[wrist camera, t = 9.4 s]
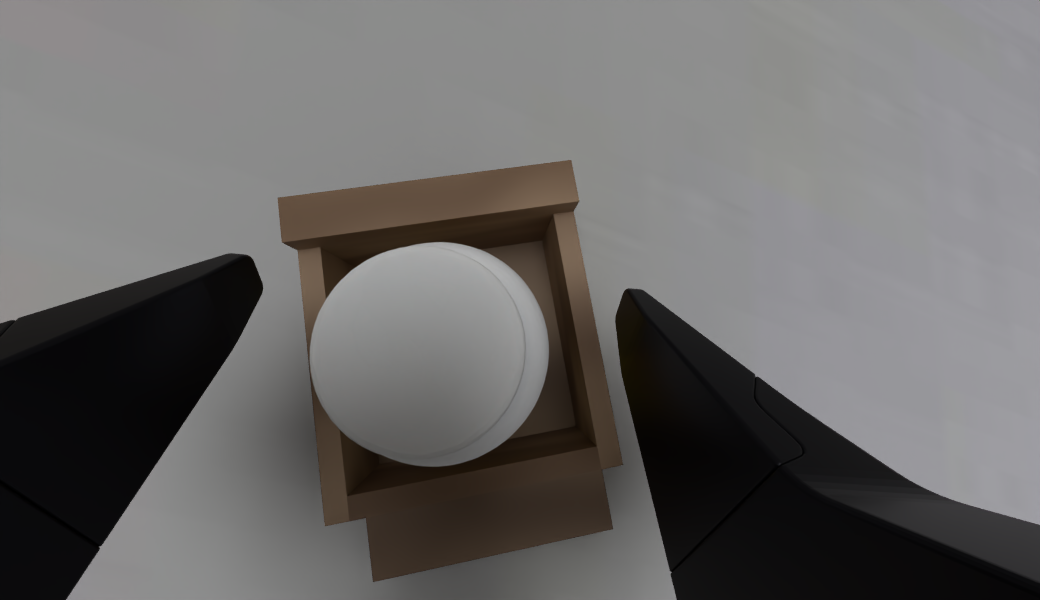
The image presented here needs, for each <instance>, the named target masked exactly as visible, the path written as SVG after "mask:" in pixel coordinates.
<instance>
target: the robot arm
mask: <svg viewBox="0 0 1040 600" xmlns="http://www.w3.org/2000/svg"><path fill="white" fill-rule="evenodd" d="M262 291H263V284H262V281H261V278H260V276H259V273H258V271H257V268H256V266H255V263H254V261H253V259H252V258H251V257H250V256H248V255H244V254H233V253H230V254H225V255H222V256H219V257H215V258H212V259H209V260H206V261H202V262H199V263H196V264H193V265H189V266H186V267H183V268H180V269H176V270H173V271H170V272H167V273H163V274H160V275H157V276H154V277H150V278H147V279H144V280H141V281H137V282H134V283H131V284H128V285H124V286H121V287H118V288H114V289H111V290H108V291H105V292H101V293H98V294H95V295H92V296H88V297H85V298H82V299H79V300H75V301H72V302H69V303H66V304H62V305H59V306H56V307H53V308H49V309H46V310H43V311H40V312H36V313H33V314H30V315H27V316H23V317H20V318H18V319H17V320H16V321H15V320H10V321H7V322H4V323H0V600H66V599H67V597H68V596H69V594H70V593H71V591H72V590H73V588H74V587H75V585H76V584H77V582H78V581H79V579H80V578H81V576H82V575H83V573H84V572H85V570H86V569H87V567H88V566H89V564H90V563H91V561H92V560H93V558H94V557H95V555H96V554H97V552H98V551H99V549H100V547H99V546H101V545H102V544H103V543H104V541H105V540H106V538H107V537H108V535H109V534H110V532H111V531H112V529H113V528H114V526H115V525H116V523H117V522H118V520H119V519H120V517H121V516H122V514H123V513H124V511H125V510H126V508H127V507H128V505H129V504H130V502H131V501H132V500H133V498H134V497H135V495H136V494H137V492H138V491H139V489H140V488H141V486H142V485H143V483H144V482H145V480H146V479H147V477H148V476H149V474H150V473H151V471H152V470H153V468H154V467H155V465H156V464H157V462H158V461H159V459H160V458H161V456H162V455H163V453H164V452H165V450H166V449H167V447H168V446H169V444H170V443H171V441H172V440H173V438H174V437H175V435H176V434H177V432H178V431H179V429H180V428H181V426H182V425H183V423H184V422H185V420H186V419H187V417H188V416H189V414H190V413H191V411H192V410H193V408H194V407H195V405H196V404H197V402H198V401H199V399H200V398H201V396H202V395H203V393H204V392H205V390H206V389H207V387H208V386H209V384H210V383H211V381H212V380H213V378H214V377H215V375H216V374H217V372H218V371H219V369H220V368H221V366H222V365H223V363H224V362H225V360H226V359H227V357H228V356H229V354H230V353H231V351H232V350H233V348H234V346H235V345H236V343H237V341H238V339H239V337H240V336H241V334H242V332H243V330H244V328H245V326H246V324H247V322H248V320H249V318H250V316H251V314H252V312H253V310H254V308H255V306H256V304H257V302H258V301H259V299H260V297H261V295H262ZM615 322H616V331H617V340H618V349H619V357H620V366H621V373H622V378H623V382H624V386H625V390H626V394H627V399H628V403H629V407H630V411H631V415H632V419H633V423H634V427H635V431H636V435H637V439H638V443H639V447H640V451H641V455H642V459H643V463H644V467H645V472H646V476H647V480H648V484H649V488H650V492H651V496H652V500H653V504H654V508H655V512H656V516H657V520H658V524H659V528H660V532H661V536H662V540H663V544H664V549H665V553H666V557H667V561H668V565H669V569H670V571H671V572H672V573H671V578H672V582H673V586H674V590H675V594H676V598H677V600H1040V525H1038V524H1034V523H1031V522H1027V521H1023V520H1020V519H1016V518H1013V517H1009V516H1006V515H1002V514H998V513H995V512H991V511H988V510H984V509H980V508H977V507H973V506H970V505H966V504H963V503H960V502H957V501H954V500H951V499H948V498H946V497H943V496H940V495H938V494H936V493H934V492H932V491H929V490H927V489H925V488H923V487H921V486H919V485H917V484H915V483H913V482H912V481H910V480H908V479H907V478H905V477H903V476H902V475H900V474H899V473H897V472H895V471H894V470H892V469H891V468H889V467H888V466H886V465H885V464H883V463H882V462H880V461H879V460H877V459H876V458H874V457H873V456H871V455H870V454H868V453H867V452H865V451H864V450H862V449H861V448H859V447H858V446H856V445H855V444H853V443H852V442H850V441H849V440H847V439H846V438H844V437H843V436H841V435H840V434H838V433H837V432H835V431H834V430H832V429H831V428H829V427H828V426H826V425H825V424H823V423H822V422H821V421H819V420H818V419H816V418H815V417H813V416H812V415H810V414H809V413H807V412H806V411H804V410H803V409H802V408H800V407H799V406H797V405H796V404H794V403H793V402H792V401H790V400H789V399H787V398H786V397H785V396H783V395H782V394H781V393H779V392H778V391H777V390H775V389H774V388H772V387H771V386H770V385H768V384H767V383H766V382H765V381H763V380H762V379H761V378H759V377H755V374H754V373H753V372H751V371H750V370H749V369H747V368H746V367H745V366H743V365H742V364H741V363H739V362H738V361H737V360H735V359H734V358H733V357H731V356H730V355H729V354H727V353H726V352H725V351H723V350H722V349H721V348H719V347H718V346H717V345H715V344H714V343H713V342H711V341H710V340H709V339H707V338H706V337H705V336H703V335H702V334H701V333H699V332H698V331H697V330H695V329H694V328H693V327H691V326H690V325H689V324H687V323H686V322H685V321H683V320H682V319H681V318H679V317H678V316H677V315H675V314H674V313H673V312H672V311H670V310H669V309H668V308H666V307H665V306H664V305H662V304H661V303H660V302H658V301H657V300H656V299H654V298H653V297H652V296H650V295H649V294H648V293H646V292H645V291H644V290H641V289H629V288H628V289H626V290H625V291H624V293H623V296H622V299H621V301H620V304H619V307H618V310H617V314H616V321H615Z"/></svg>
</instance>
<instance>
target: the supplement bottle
mask: <svg viewBox="0 0 1040 600" xmlns="http://www.w3.org/2000/svg"><path fill="white" fill-rule="evenodd" d="M548 359H549V341H548V334H547V328H546V324H545V320H544V317H543V314H542V312H541V309H540V307H539V305H538V302H537V300H536V298H535V297H534V295H533V293H532V292H531V290H530V289H529V287H528V286H527V285H526V283H525V282H524V281H523V279H522V278H521V277H520V276H519V275H518V274H517V273H516V272H515V271H514V270H512V269H511V268H510V267H509V266H508V265H506V264H505V263H504V262H502V261H501V260H499V259H498V258H496V257H494V256H492V255H491V254H489V253H487V252H485V251H482V250H480V249H476V248H473V247H470V246H467V245H462V244H457V243H448V242H433V243H423V244H416V245H411V246H408V247H402V248H397V249H394V250H390V251H387V252H384V253H381V254H378V255H376V256H374V257H372V258H370V259H368V260H366V261H364V262H363V263H361V264H360V265H358V266H357V267H356V268H354V269H353V270H351V271H350V272H349V273H348V274H347V275H346V276H345V277H344V278H343V279H341V281H340V282H339V283H338V284H337V285H336V286H335V287H334V289H333V290H332V291H331V293H330V294H329V296H328V297H327V299H326V300H325V302H324V304H323V306H322V307H321V309H320V311H319V313H318V316H317V319H316V322H315V324H314V328H313V332H312V337H311V343H310V370H311V376H312V381H313V385H314V388H315V392H316V394H317V396H318V398H319V401H320V403H321V405H322V407H323V408H324V410H325V411H326V413H327V414H328V416H329V417H330V419H331V421H332V422H333V423H334V424H335V425H336V426H337V427H338V428H339V430H340V431H342V432H343V433H344V434H345V435H346V436H347V437H348V438H350V439H351V440H353V441H354V442H356V443H357V444H359V445H360V446H362V447H364V448H366V449H368V450H370V451H372V452H374V453H377V454H380V455H383V456H385V457H387V458H390V459H393V460H396V461H399V462H402V463H406V464H411V465H417V466H431V467H439V466H449V465H455V464H459V463H463V462H466V461H469V460H473V459H475V458H478V457H480V456H482V455H484V454H486V453H488V452H489V451H491V450H493V449H494V448H496V447H497V446H499V445H500V444H502V443H503V442H504V441H506V440H507V439H508V438H509V437H510V436H512V434H513V433H514V432H515V431H516V430H517V429H518V428H519V427H520V426H521V425H522V424H523V423H524V421H525V420H526V418H527V417H528V416H529V414H530V413H531V411H532V410H533V408H534V406H535V404H536V402H537V400H538V398H539V396H540V393H541V390H542V388H543V385H544V382H545V377H546V373H547V368H548Z"/></svg>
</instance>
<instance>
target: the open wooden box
mask: <svg viewBox="0 0 1040 600" xmlns="http://www.w3.org/2000/svg"><path fill="white" fill-rule="evenodd" d="M578 202H579V197H578V192H577V187H576V182H575V177H574V172H573V167H572V162H571V160H568V161H560V162H552V163H544V164H537V165H529V166H521V167H513V168H505V169H498V170H490V171H482V172H474V173H467V174H459V175H451V176H443V177H436V178H428V179H420V180H412V181H404V182H397V183H389V184H381V185H373V186H366V187H358V188H350V189H342V190H335V191H327V192H319V193H311V194H303V195H296V196H288V197H280V198H278V206H279V217H280V227H281V238H282V243H284V244H286V245H288V246H290V247H292V248H294V249H296V250H298V259H299V269H300V279H301V289H302V299H303V309H304V319H305V329H306V340H307V350H308V360H309V370H310V343H311V337H312V332H313V328H314V324H315V322H316V319H317V316H318V313H319V311H320V309H321V307H322V306H323V304H324V302H325V300H326V299H327V297H328V296H329V294H330V293H331V291H332V290H333V289H334V287H335V286H336V285H337V284H338V283H339V282H340V281H341V279H343V278H344V277H345V276H346V275H347V274H348V273H349V272H350V271H351V270H353V269H354V268H356V267H357V266H358V265H360V264H361V263H363V262H364V261H366V260H368V259H370V258H372V257H374V256H376V255H378V254H381V253H384V252H387V251H390V250H394V249H397V248H402V247H408V246H411V245H416V244H423V243H433V242H448V243H457V244H462V245H467V246H470V247H473V248H476V249H480V250H482V251H485V252H487V253H489V254H491V255H492V256H494V257H496V258H498V259H499V260H501V261H502V262H504V263H505V264H506V265H508V266H509V267H510V268H511V269H512V270H514V271H515V272H516V273H517V274H518V275H519V276H520V277H521V278H522V279H523V281H524V282H525V283H526V285H527V286H528V287H529V289H530V290H531V292H532V293H533V295H534V297H535V298H536V300H537V302H538V305H539V307H540V309H541V312H542V314H543V317H544V320H545V324H546V328H547V334H548V341H549V359H548V368H547V373H546V377H545V382H544V385H543V388H542V390H541V393H540V396H539V398H538V400H537V402H536V404H535V406H534V408H533V410H532V411H531V413H530V414H529V416H528V417H527V418H526V420H525V421H524V423H523V424H522V425H521V426H520V427H519V428H518V429H517V430H516V431H515V432H514V433H513V434H512V436H510V437H509V438H508V439H507V440H506V441H504V442H503V443H502V444H500V445H499V446H497V447H496V448H494V449H493V450H491V451H489V452H488V453H486V454H484V455H482V456H480V457H478V458H475V459H473V460H469V461H466V462H463V463H459V464H455V465H449V466H439V467H431V466H417V465H411V464H406V463H402V462H399V461H396V460H393V459H390V458H387V457H385V456H383V455H380V454H377V453H374V452H372V451H370V450H368V449H366V448H364V447H362V446H360V445H359V444H357V443H356V442H354V441H353V440H351V439H350V438H348V437H347V436H346V435H345V434H344V433H343V432H342V431H340V430H339V428H338V427H337V426H336V425H335V424H334V423H333V422H332V421H331V419H330V417H329V416H328V414H327V413H326V411H325V410H324V408H323V407H322V405H321V403H320V401H319V398H318V396H317V394H316V392H315V388H314V385H313V381H312V376H311V370H310V380H311V390H312V400H313V410H314V421H315V431H316V441H317V451H318V461H319V471H320V481H321V492H322V502H323V512H324V522H325V526H329V525H333V524H338V523H343V522H348V521H353V520H358V519H363V518H366V523H367V531H368V540H369V549H370V558H371V567H372V576H373V582H375V581H380V580H384V579H389V578H394V577H398V576H403V575H407V574H412V573H416V572H421V571H425V570H430V569H434V568H439V567H443V566H448V565H452V564H457V563H461V562H466V561H471V560H475V559H480V558H484V557H489V556H493V555H498V554H502V553H507V552H511V551H516V550H520V549H525V548H529V547H534V546H538V545H543V544H547V543H552V542H557V541H561V540H566V539H570V538H575V537H579V536H584V535H588V534H593V533H597V532H602V531H606V530H611V529H613V526H612V521H611V515H610V510H609V505H608V499H607V494H606V489H605V484H604V478H603V473H602V469H606V468H611V467H615V466H620V465H623V462H622V457H621V452H620V447H619V442H618V437H617V432H616V427H615V421H614V416H613V411H612V406H611V401H610V396H609V391H608V386H607V381H606V375H605V370H604V365H603V360H602V355H601V350H600V345H599V340H598V334H597V329H596V324H595V319H594V314H593V309H592V304H591V299H590V293H589V288H588V283H587V278H586V273H585V268H584V263H583V258H582V253H581V247H580V242H579V237H578V232H577V227H576V222H575V217H574V212H573V211H574V209H575V208H576V206H577V204H578Z"/></svg>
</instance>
